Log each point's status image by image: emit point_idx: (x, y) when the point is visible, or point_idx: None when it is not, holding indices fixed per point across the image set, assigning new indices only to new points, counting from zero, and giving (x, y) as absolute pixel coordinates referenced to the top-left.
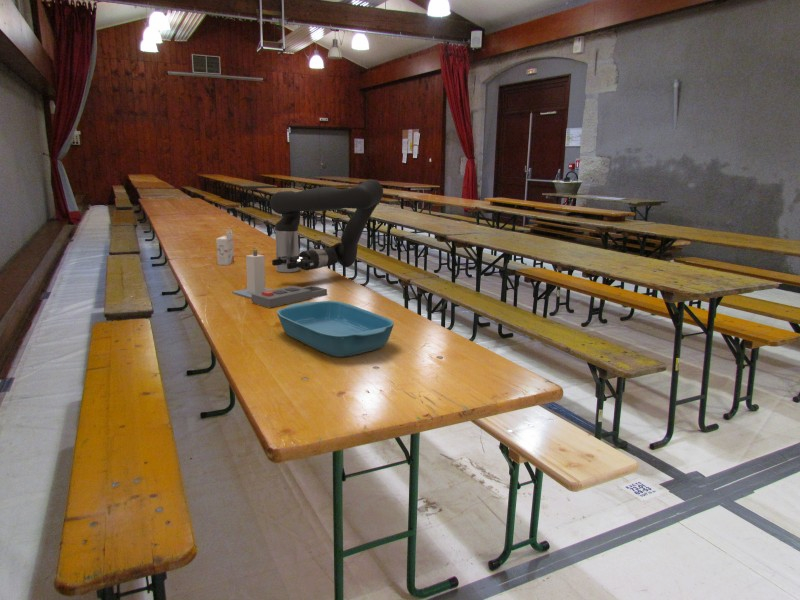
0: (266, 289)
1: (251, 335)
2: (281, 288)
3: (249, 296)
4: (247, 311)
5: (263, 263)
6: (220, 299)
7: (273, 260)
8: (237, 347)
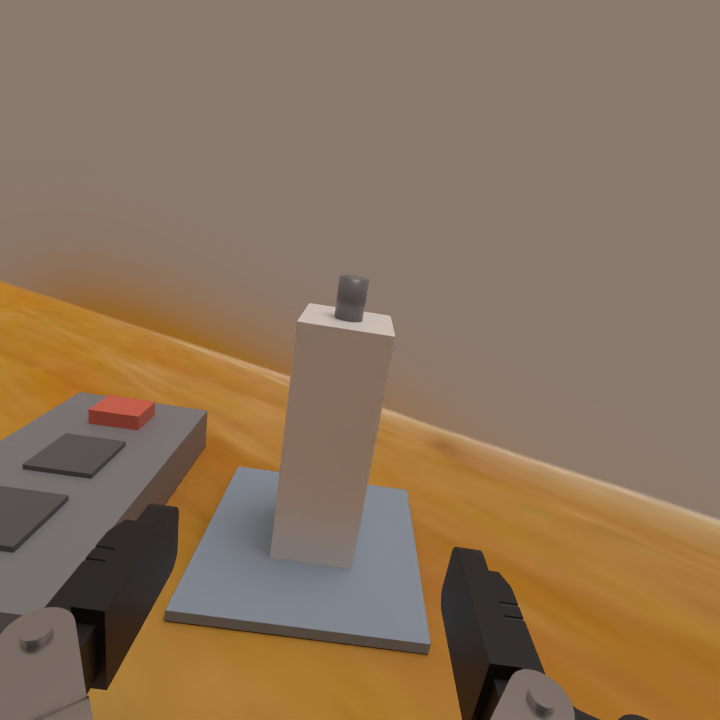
0: (315, 606)
1: (28, 326)
2: (113, 513)
3: (269, 472)
4: (149, 395)
5: (291, 373)
6: None
7: (456, 548)
8: (31, 305)
